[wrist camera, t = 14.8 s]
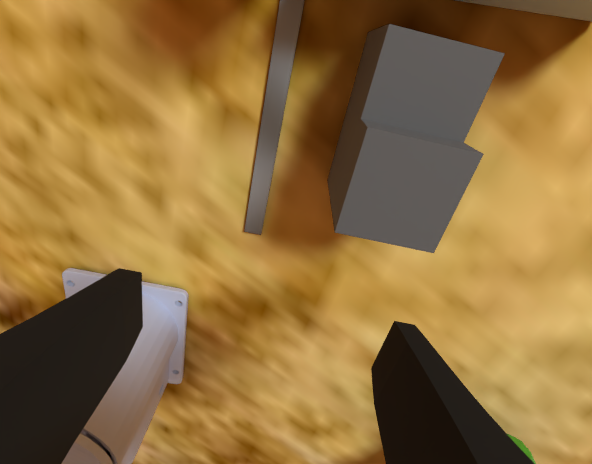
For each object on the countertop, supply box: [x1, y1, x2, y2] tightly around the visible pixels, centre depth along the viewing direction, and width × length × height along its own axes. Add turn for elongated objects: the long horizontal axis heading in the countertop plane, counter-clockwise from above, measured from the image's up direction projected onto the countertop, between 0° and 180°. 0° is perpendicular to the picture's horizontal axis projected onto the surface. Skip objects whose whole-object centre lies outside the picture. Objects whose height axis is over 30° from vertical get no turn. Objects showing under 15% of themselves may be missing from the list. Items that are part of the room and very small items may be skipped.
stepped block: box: [328, 24, 505, 253], centre depth 13 cm, size 7×4×6 cm, turn 168°
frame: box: [244, 0, 305, 235], centre depth 11 cm, size 21×4×7 cm, turn 168°
